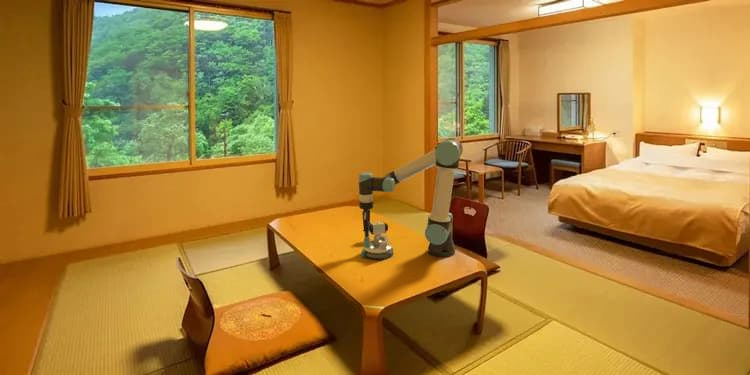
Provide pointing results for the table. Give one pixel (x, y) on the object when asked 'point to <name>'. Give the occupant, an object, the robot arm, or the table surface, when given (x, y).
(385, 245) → the lathe chuck
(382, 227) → the pneumatic valve
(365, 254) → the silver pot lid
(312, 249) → the table surface
